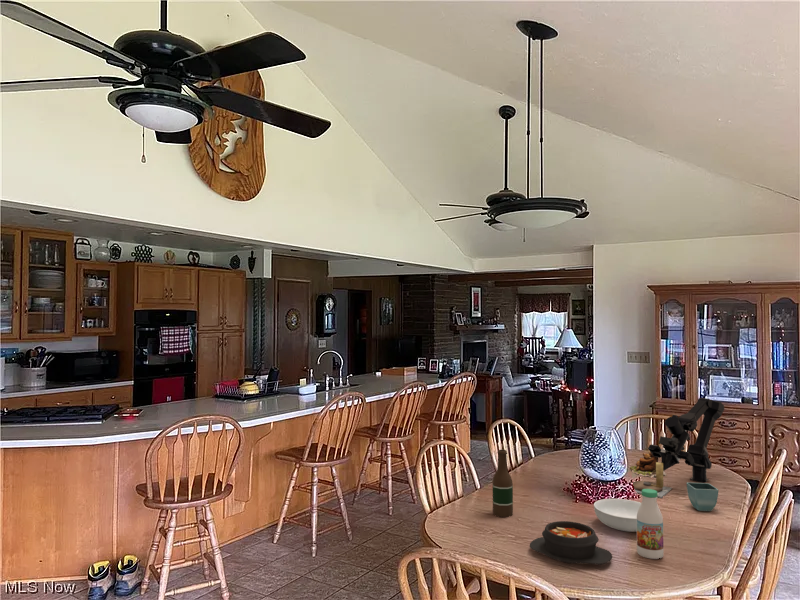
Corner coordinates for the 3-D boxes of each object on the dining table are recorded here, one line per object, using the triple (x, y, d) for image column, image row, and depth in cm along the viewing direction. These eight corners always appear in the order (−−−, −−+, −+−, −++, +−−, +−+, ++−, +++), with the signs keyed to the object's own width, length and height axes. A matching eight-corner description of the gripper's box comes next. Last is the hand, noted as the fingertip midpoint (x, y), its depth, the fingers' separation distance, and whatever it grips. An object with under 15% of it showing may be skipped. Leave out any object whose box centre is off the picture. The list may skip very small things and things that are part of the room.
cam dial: (630, 489, 246) (629, 462, 246) (634, 482, 257) (634, 456, 257) (661, 493, 240) (661, 466, 240) (664, 486, 250) (664, 460, 251)
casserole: (618, 554, 182) (617, 527, 182) (605, 577, 166) (604, 547, 166) (540, 538, 195) (540, 513, 195) (521, 558, 179) (521, 530, 179)
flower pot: (709, 505, 228) (709, 482, 228) (719, 513, 219) (719, 489, 219) (686, 505, 229) (685, 482, 229) (695, 512, 220) (694, 489, 220)
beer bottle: (515, 512, 220) (514, 449, 221) (510, 519, 213) (509, 453, 214) (495, 509, 223) (495, 447, 224) (489, 515, 216) (489, 451, 217)
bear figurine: (646, 468, 284) (646, 443, 285) (671, 476, 270) (671, 449, 271) (625, 470, 279) (624, 445, 280) (649, 479, 265) (648, 452, 266)
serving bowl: (628, 542, 191) (627, 521, 191) (581, 522, 210) (581, 503, 210) (670, 532, 201) (670, 512, 201) (622, 513, 219) (621, 495, 219)
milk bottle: (632, 549, 185) (631, 487, 186) (655, 549, 186) (654, 486, 186) (644, 560, 178) (643, 494, 178) (668, 559, 178) (667, 493, 179)
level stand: (634, 482, 260) (634, 480, 260) (672, 489, 249) (672, 487, 249) (621, 490, 247) (621, 488, 247) (661, 498, 237) (661, 496, 237)
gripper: (650, 426, 258) (634, 453, 252) (689, 433, 242) (673, 463, 236) (661, 441, 262) (646, 469, 256) (701, 450, 246) (685, 480, 240)
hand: (662, 470), depth 247 cm, fingers closed, pressing on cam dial
